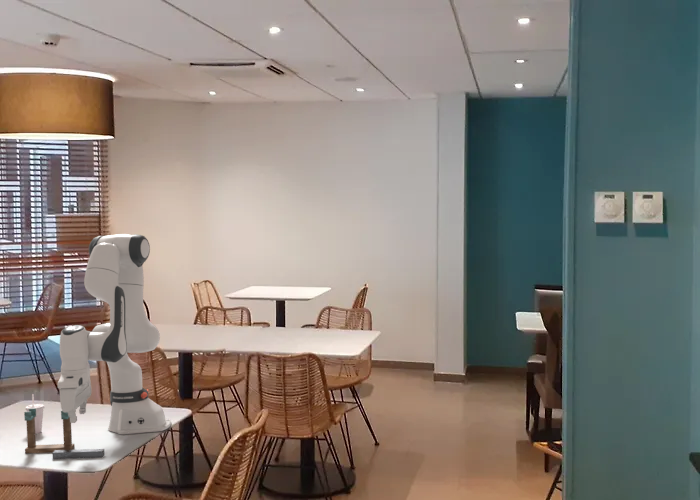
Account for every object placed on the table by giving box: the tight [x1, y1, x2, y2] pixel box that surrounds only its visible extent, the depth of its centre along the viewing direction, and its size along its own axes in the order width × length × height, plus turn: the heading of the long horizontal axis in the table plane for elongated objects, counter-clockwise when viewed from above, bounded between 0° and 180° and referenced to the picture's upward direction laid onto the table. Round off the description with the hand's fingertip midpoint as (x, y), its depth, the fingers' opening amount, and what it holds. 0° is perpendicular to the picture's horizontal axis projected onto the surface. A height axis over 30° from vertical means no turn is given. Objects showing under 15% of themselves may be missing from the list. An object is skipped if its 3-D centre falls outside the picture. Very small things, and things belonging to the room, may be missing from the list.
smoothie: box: [25, 393, 45, 435], centre depth 277 cm, size 6×6×14 cm
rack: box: [23, 408, 75, 454], centre depth 254 cm, size 15×5×14 cm, turn 93°
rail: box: [51, 448, 105, 460], centre depth 247 cm, size 16×2×2 cm, turn 92°
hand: (78, 417), depth 247 cm, fingers open, 8 cm apart
